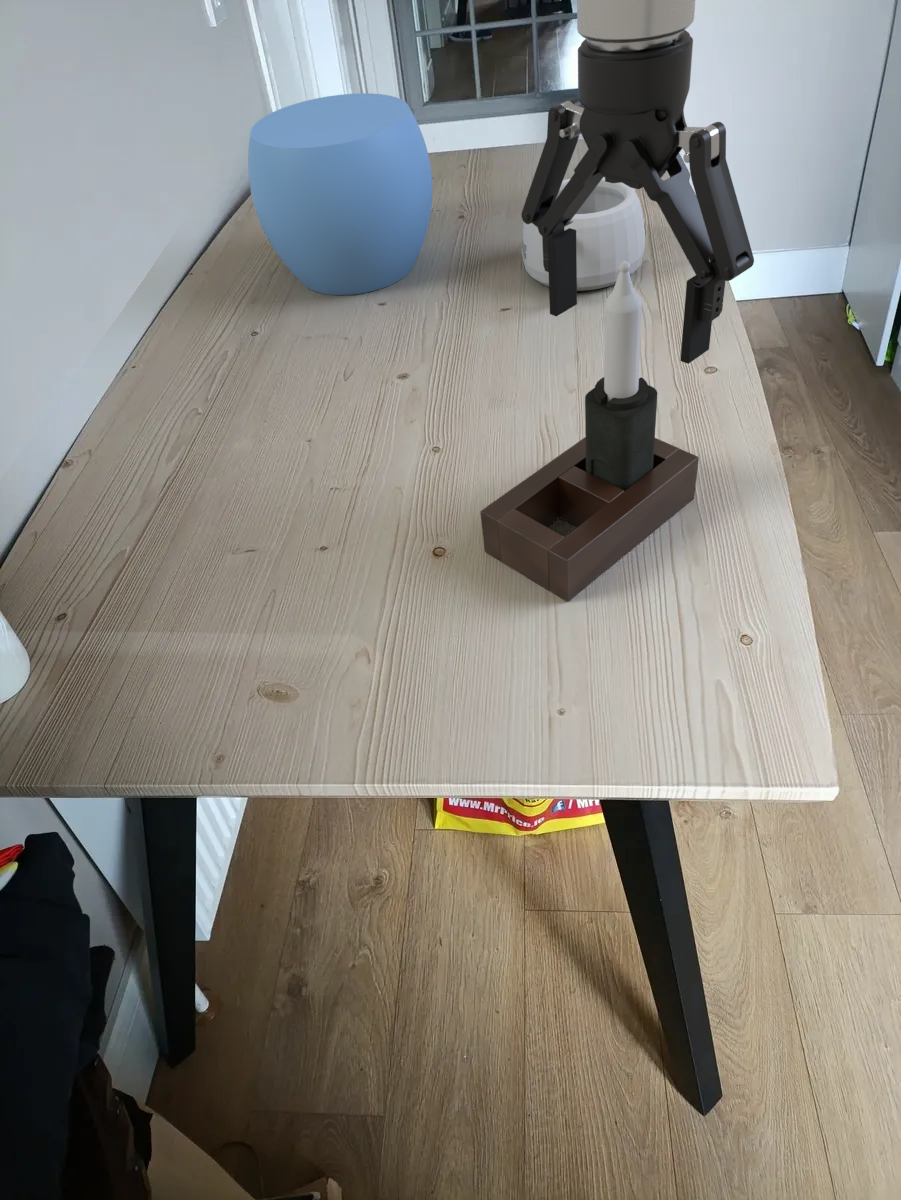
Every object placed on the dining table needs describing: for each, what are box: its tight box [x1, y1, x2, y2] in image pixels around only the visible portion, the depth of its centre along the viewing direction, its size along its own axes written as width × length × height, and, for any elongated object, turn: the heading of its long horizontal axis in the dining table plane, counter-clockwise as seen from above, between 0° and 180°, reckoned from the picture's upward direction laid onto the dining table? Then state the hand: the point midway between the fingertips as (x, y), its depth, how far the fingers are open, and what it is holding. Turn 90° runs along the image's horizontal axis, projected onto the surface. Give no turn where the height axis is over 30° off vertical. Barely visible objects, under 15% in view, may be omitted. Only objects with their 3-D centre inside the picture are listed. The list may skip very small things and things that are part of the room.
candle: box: [584, 261, 658, 491], centre depth 77 cm, size 5×5×25 cm
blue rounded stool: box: [247, 92, 433, 296], centre depth 123 cm, size 25×25×20 cm
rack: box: [480, 436, 700, 603], centre depth 82 cm, size 10×19×5 cm, turn 134°
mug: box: [521, 177, 646, 292], centre depth 117 cm, size 21×17×10 cm
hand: (625, 331), depth 73 cm, fingers open, 13 cm apart
